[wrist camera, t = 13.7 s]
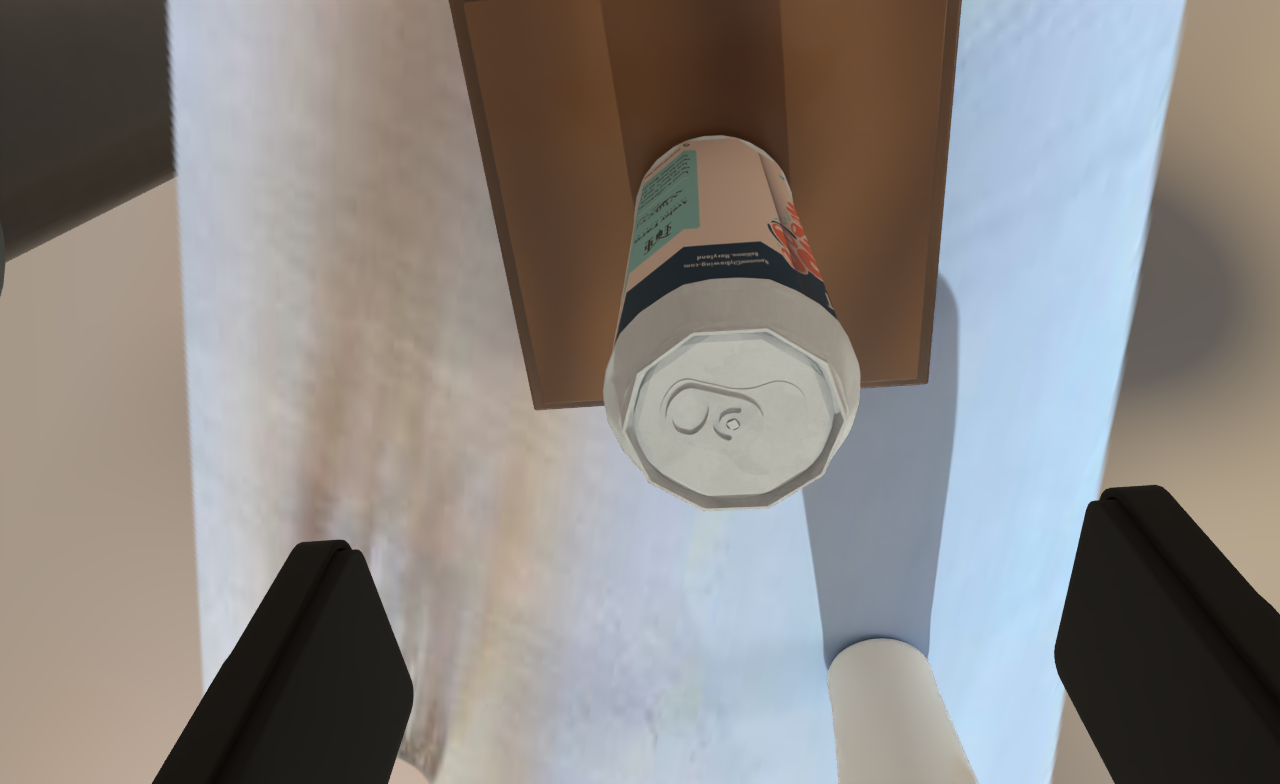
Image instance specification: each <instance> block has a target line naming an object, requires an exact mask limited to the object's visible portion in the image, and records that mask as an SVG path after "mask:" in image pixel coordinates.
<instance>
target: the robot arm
mask: <svg viewBox="0 0 1280 784" xmlns="http://www.w3.org/2000/svg"><path fill="white" fill-rule="evenodd" d="M1054 657H1055V664H1056V668H1057V672H1058V675H1059V677H1060V679H1061V681H1062V683H1063V685H1064V687H1065V689H1066V691H1067V693H1068V695H1069V697H1070V698H1071V700H1072V702H1073V704H1074V706H1075V708H1076V710H1077V712H1078V714H1079V716H1080V718H1081V720H1082V722H1083V723H1084V725H1085V727H1086V729H1087V731H1088V733H1089V735H1090V737H1091V739H1092V741H1093V743H1094V745H1095V746H1096V748H1097V750H1098V752H1099V754H1100V756H1101V758H1102V760H1103V762H1104V763H1105V766H1106V768H1107V769H1108V771H1109V773H1110V775H1111V777H1112V779H1113V781H1114V783H1115V784H1280V614H1279V613H1278V612H1277V611H1276V610H1275V609H1274V608H1273V606H1272V605H1270V604H1269V603H1268V602H1267V601H1266V600H1265V599H1264V598H1263V597H1261V596H1260V595H1259V594H1258V593H1257V592H1256V591H1255V590H1254V588H1253V587H1252V586H1251V585H1250V584H1249V583H1248V582H1247V581H1246V579H1245V578H1244V577H1243V576H1242V575H1241V574H1240V573H1239V571H1238V570H1237V569H1236V568H1235V567H1234V566H1233V565H1232V564H1231V562H1230V561H1229V560H1228V559H1227V558H1226V557H1225V556H1224V555H1223V553H1222V552H1221V551H1220V550H1219V549H1218V548H1217V546H1216V545H1215V544H1214V543H1213V542H1212V541H1211V540H1210V539H1209V537H1208V536H1207V535H1206V534H1205V533H1204V532H1203V531H1202V530H1201V528H1200V527H1199V526H1198V525H1197V524H1196V523H1195V522H1194V520H1193V519H1192V518H1191V517H1190V516H1189V515H1188V514H1187V512H1186V511H1185V510H1184V509H1183V508H1182V507H1181V506H1180V505H1179V504H1178V502H1177V501H1176V500H1175V499H1174V498H1173V497H1172V495H1171V494H1170V493H1169V492H1168V491H1167V490H1165V489H1164V488H1163V487H1161V486H1158V485H1148V486H1147V485H1146V486H1131V487H1116V488H1109V489H1106V490H1105V491H1104V492H1103V493H1102V495H1101V497H1100V500H1099V501H1092V502H1090V503H1089V504H1088V507H1087V509H1086V513H1085V517H1084V522H1083V526H1082V530H1081V535H1080V539H1079V544H1078V548H1077V552H1076V557H1075V561H1074V565H1073V570H1072V574H1071V578H1070V583H1069V587H1068V591H1067V596H1066V600H1065V605H1064V609H1063V613H1062V618H1061V622H1060V626H1059V631H1058V635H1057V639H1056V644H1055V650H1054ZM412 706H413V684H412V680H411V678H410V675H409V672H408V670H407V667H406V665H405V662H404V659H403V657H402V654H401V651H400V649H399V646H398V644H397V641H396V638H395V636H394V633H393V631H392V628H391V625H390V623H389V620H388V618H387V615H386V612H385V610H384V607H383V605H382V602H381V599H380V597H379V594H378V592H377V589H376V586H375V584H374V581H373V578H372V576H371V573H370V571H369V568H368V565H367V563H366V560H365V558H364V556H363V554H362V552H361V551H360V550H352V549H351V547H350V545H349V544H348V543H347V542H346V541H345V540H327V541H312V542H301V543H299V544H297V545H296V546H295V547H294V549H293V550H292V551H291V553H290V555H289V556H288V558H287V560H286V562H285V563H284V565H283V567H282V568H281V570H280V572H279V573H278V575H277V577H276V578H275V580H274V582H273V583H272V585H271V587H270V589H269V590H268V592H267V594H266V595H265V597H264V599H263V600H262V602H261V604H260V605H259V607H258V609H257V610H256V612H255V614H254V615H253V617H252V619H251V621H250V622H249V624H248V626H247V627H246V629H245V631H244V632H243V634H242V636H241V637H240V639H239V641H238V642H237V644H236V646H235V648H234V649H233V651H232V653H231V654H230V655H229V657H228V658H227V659H226V661H225V662H224V663H223V665H222V666H221V668H220V670H219V672H218V673H217V675H216V677H215V678H214V680H213V682H212V683H211V685H210V687H209V688H208V690H207V692H206V693H205V695H204V697H203V698H202V700H201V702H200V704H199V705H198V707H197V708H196V710H195V712H194V713H193V715H192V717H191V719H190V720H189V722H188V724H187V726H186V727H185V729H184V730H183V732H182V734H181V736H180V737H179V739H178V740H177V742H176V744H175V745H174V747H173V749H172V750H171V752H170V754H169V755H168V757H167V759H166V760H165V762H164V764H163V766H162V768H161V769H160V771H159V772H158V774H157V776H156V777H155V779H154V781H153V782H152V784H388V782H389V779H390V775H391V772H392V769H393V766H394V763H395V760H396V757H397V754H398V751H399V747H400V744H401V741H402V738H403V735H404V732H405V729H406V726H407V723H408V720H409V716H410V713H411V710H412Z"/></svg>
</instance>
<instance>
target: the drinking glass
mask: <svg viewBox="0 0 1280 784" xmlns="http://www.w3.org/2000/svg"><path fill="white" fill-rule="evenodd" d="M827 685H828V691H829V697H830V703H831V708H832V717H833V727H834V738H835V749H836V760H837V772H838V784H979V783H978V780H977V778H976V776H975V774H974V771H973V769H972V767H971V764H970V762H969V760H968V757H967V755H966V753H965V751H964V748H963V746H962V744H961V741H960V739H959V737H958V734H957V732H956V730H955V727H954V725H953V723H952V720H951V718H950V716H949V713H948V711H947V709H946V706H945V704H944V702H943V699H942V697H941V694H940V692H939V689H938V686H937V683H936V680H935V677H934V674H933V671H932V668H931V666H930V664H929V662H928V660H927V659H926V657H925V656H924V655H923V654H922V653H921V652H920V651H919V650H918V649H916V648H915V647H913V646H912V645H910V644H908V643H905V642H902V641H899V640H894V639H886V638H879V639H869V640H865V641H861V642H858V643H855V644H853V645H851V646H849V647H847V648H846V649H844V650H843V651H842V652H840V653H839V654H838V655H837V656H836V657H835V659H834V660H833V661H832V663H831V665H830V667H829V670H828V675H827Z"/></svg>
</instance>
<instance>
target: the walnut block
mask: <svg viewBox="0 0 1280 784" xmlns="http://www.w3.org/2000/svg"><path fill="white" fill-rule="evenodd" d="M449 4H450V9H451V14H452V18H453V23H454V28H455V33H456V37H457V42H458V47H459V52H460V56H461V61H462V66H463V71H464V76H465V80H466V85H467V90H468V95H469V99H470V104H471V109H472V114H473V118H474V123H475V128H476V133H477V138H478V142H479V147H480V152H481V157H482V161H483V166H484V171H485V176H486V181H487V185H488V190H489V195H490V200H491V204H492V209H493V214H494V219H495V223H496V228H497V233H498V238H499V243H500V247H501V252H502V257H503V262H504V266H505V271H506V276H507V281H508V285H509V290H510V295H511V300H512V305H513V309H514V314H515V319H516V324H517V328H518V333H519V338H520V343H521V348H522V352H523V357H524V362H525V367H526V371H527V376H528V381H529V386H530V390H531V395H532V400H533V405H534V409H535V410H547V409H562V408H577V407H592V406H605V404H604V397H603V387H604V380H605V372H606V368H607V365H608V362H609V360H610V357H611V354H612V350H613V344H614V338H615V332H616V326H617V320H618V314H619V308H620V302H621V296H622V290H623V284H624V279H625V273H626V267H627V261H628V255H629V249H630V243H631V237H632V231H633V225H634V212H635V205H636V198H637V194H638V191H639V189H640V186H641V183H642V180H643V178H644V176H645V175H646V173H647V172H648V171H649V170H650V168H651V167H652V165H653V164H654V163H655V162H656V160H657V159H659V158H660V157H661V156H663V155H664V154H665V153H666V152H668V151H669V150H670V149H672V148H673V147H674V146H676V145H679V144H681V143H683V142H685V141H687V140H691V139H694V138H698V137H702V136H718V135H723V136H729V137H735V138H738V139H741V140H744V141H747V142H750V143H752V144H753V145H755V146H757V147H758V148H760V149H762V150H763V151H765V152H766V153H767V154H768V155H769V156H770V157H771V158H772V159H773V160H774V161H775V162H776V163H777V164H778V165H779V167H780V168H781V170H782V171H783V173H784V175H785V177H786V180H787V182H788V185H789V187H790V190H791V192H792V199H793V204H794V207H795V209H796V212H797V215H798V217H799V220H800V222H801V225H802V228H803V230H804V233H805V235H806V238H807V241H808V243H809V246H810V248H811V251H812V254H813V256H814V259H815V261H816V264H817V267H818V269H819V272H820V275H821V277H822V280H823V282H824V285H825V288H826V290H827V293H828V295H829V298H830V301H831V303H832V306H833V308H834V311H835V314H836V316H837V319H838V321H839V323H840V324H841V326H842V328H843V329H844V331H845V332H846V334H847V335H848V337H849V340H850V342H851V345H852V347H853V350H854V352H855V355H856V358H857V360H858V363H859V368H860V388H875V387H890V386H905V385H920V384H927V383H928V377H929V366H930V355H931V343H932V332H933V321H934V309H935V298H936V287H937V275H938V264H939V253H940V241H941V230H942V219H943V207H944V196H945V185H946V173H947V162H948V151H949V139H950V128H951V117H952V105H953V94H954V83H955V71H956V60H957V49H958V37H959V26H960V15H961V4H962V0H449Z"/></svg>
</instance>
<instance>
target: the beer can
mask: <svg viewBox="0 0 1280 784" xmlns="http://www.w3.org/2000/svg"><path fill="white" fill-rule="evenodd" d="M603 397H604V404H605V408H606V414H607V420H608V423H609V425H610V427H611V429H612V431H613V433H614V435H615V437H616V438H617V440H618V442H619V444H620V446H621V448H622V450H623V451H624V452H625V453H626V455H627V456H628V457H629V458H630V459H631V460H632V462H633V463H634V464H635V465H636V466H637V467H638V468H639V469H640V470H641V471H642V472H643V474H644V475H645V477H646V479H647V481H648V483H650V484H652V485H654V486H656V487H658V488H660V489H662V490H664V491H666V492H667V493H669V494H671V495H673V496H675V497H677V498H679V499H681V500H683V501H685V502H687V503H689V504H691V505H693V506H695V507H697V508H699V509H701V510H703V511H716V510H742V509H768V508H771V507H772V506H774V505H776V504H777V503H779V502H781V501H782V500H784V499H786V498H787V497H789V496H790V495H792V494H794V493H795V492H797V491H799V490H800V489H802V488H804V487H805V486H807V485H809V484H810V483H812V482H814V481H815V480H817V479H819V478H820V477H822V476H824V474H825V471H826V469H827V467H828V465H829V462H830V460H831V458H832V457H833V455H834V454H835V453H836V452H837V450H838V449H839V448H840V446H841V445H842V443H843V442H844V440H845V438H846V437H847V435H848V433H849V432H850V430H851V428H852V425H853V422H854V419H855V415H856V412H857V409H858V405H859V402H860V368H859V363H858V360H857V358H856V355H855V352H854V350H853V347H852V345H851V342H850V340H849V337H848V335H847V334H846V332H845V331H844V329H843V328H842V326H841V324H840V323H839V321H838V319H837V316H836V314H835V311H834V308H833V306H832V303H831V301H830V298H829V295H828V293H827V290H826V288H825V285H824V282H823V280H822V277H821V275H820V272H819V269H818V267H817V264H816V261H815V259H814V256H813V254H812V251H811V248H810V246H809V243H808V241H807V238H806V235H805V233H804V230H803V228H802V225H801V222H800V220H799V217H798V215H797V212H796V209H795V207H794V204H793V199H792V192H791V190H790V187H789V185H788V182H787V180H786V177H785V175H784V173H783V171H782V170H781V168H780V167H779V165H778V164H777V163H776V162H775V161H774V160H773V159H772V158H771V157H770V156H769V155H768V154H767V153H766V152H765V151H763V150H762V149H760V148H758V147H757V146H755V145H753V144H752V143H750V142H747V141H744V140H741V139H738V138H735V137H729V136H723V135H718V136H702V137H698V138H694V139H691V140H687V141H685V142H683V143H681V144H679V145H676V146H674V147H673V148H672V149H670V150H669V151H668V152H666V153H665V154H664V155H663V156H661V157H660V158H659V159H657V160H656V162H655V163H654V164H653V165H652V167H651V168H650V170H649V171H648V172H647V173H646V175H645V176H644V178H643V180H642V183H641V186H640V189H639V191H638V194H637V198H636V205H635V212H634V225H633V231H632V237H631V243H630V249H629V255H628V261H627V267H626V273H625V279H624V284H623V290H622V296H621V302H620V308H619V314H618V320H617V326H616V332H615V338H614V344H613V350H612V354H611V357H610V360H609V362H608V365H607V368H606V372H605V380H604V387H603Z"/></svg>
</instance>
